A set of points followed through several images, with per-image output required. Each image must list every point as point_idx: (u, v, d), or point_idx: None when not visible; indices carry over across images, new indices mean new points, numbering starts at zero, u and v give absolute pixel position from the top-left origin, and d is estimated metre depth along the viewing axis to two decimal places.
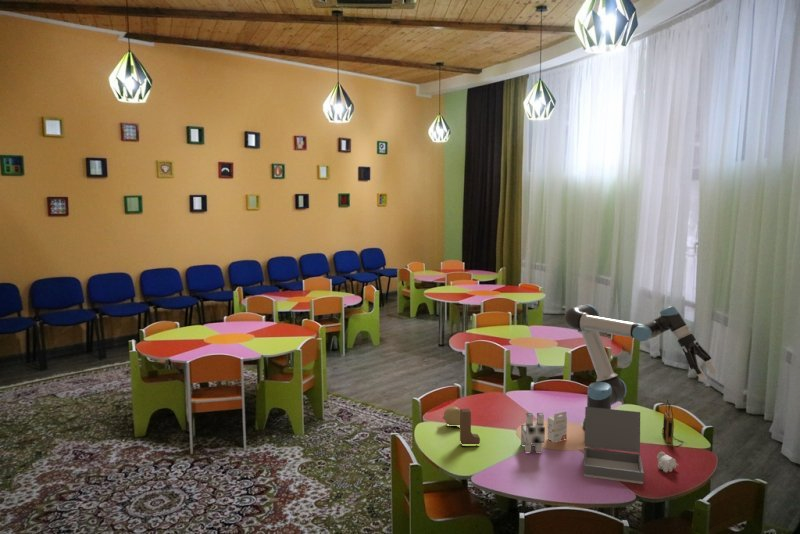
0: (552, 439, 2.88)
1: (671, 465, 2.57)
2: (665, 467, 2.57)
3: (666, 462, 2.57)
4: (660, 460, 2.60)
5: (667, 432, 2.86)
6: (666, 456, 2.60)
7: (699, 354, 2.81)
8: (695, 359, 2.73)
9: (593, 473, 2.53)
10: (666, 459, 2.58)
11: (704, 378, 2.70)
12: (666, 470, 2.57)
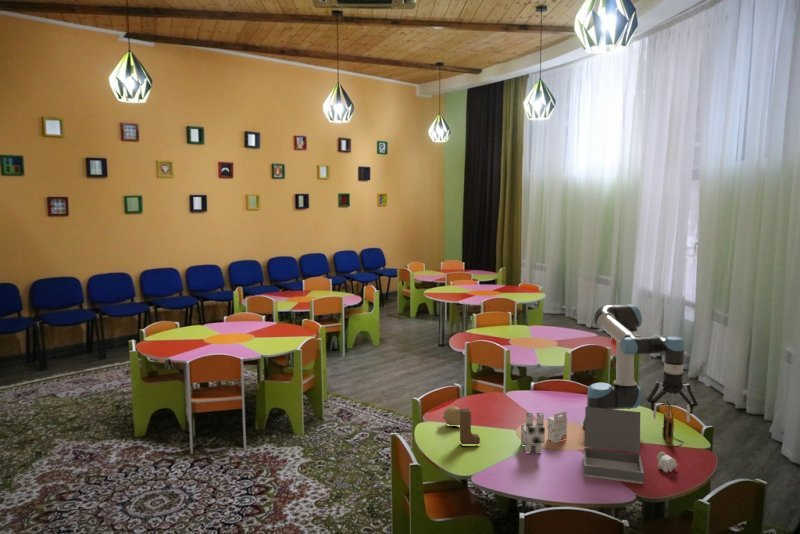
0: (552, 439, 2.88)
1: (671, 465, 2.57)
2: (665, 467, 2.57)
3: (666, 462, 2.57)
4: (660, 460, 2.60)
5: (667, 432, 2.86)
6: (666, 456, 2.60)
7: None
8: (658, 397, 2.57)
9: (593, 473, 2.53)
10: (666, 459, 2.58)
11: (653, 416, 2.59)
12: (666, 470, 2.57)
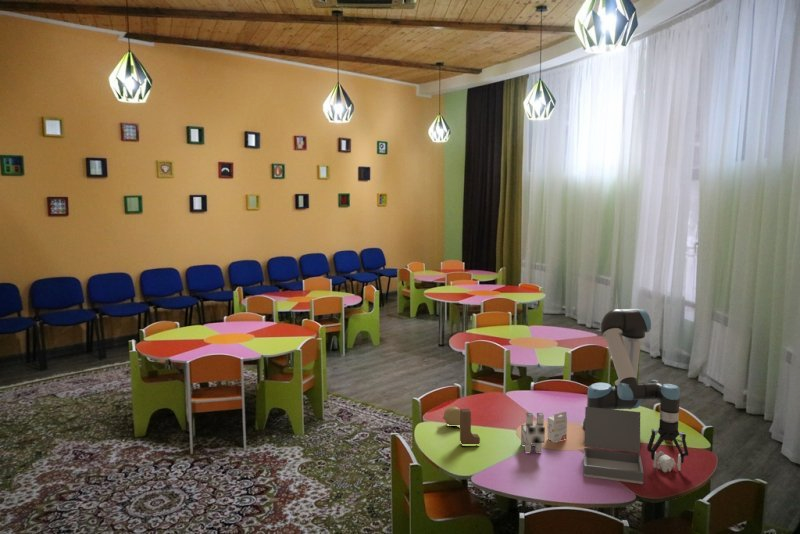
0: (552, 439, 2.88)
1: (670, 465, 2.57)
2: (664, 467, 2.57)
3: (665, 461, 2.57)
4: (659, 460, 2.60)
5: None
6: (665, 456, 2.60)
7: (675, 444, 2.58)
8: (656, 446, 2.59)
9: (593, 473, 2.53)
10: (665, 459, 2.58)
11: (653, 465, 2.61)
12: (665, 470, 2.57)
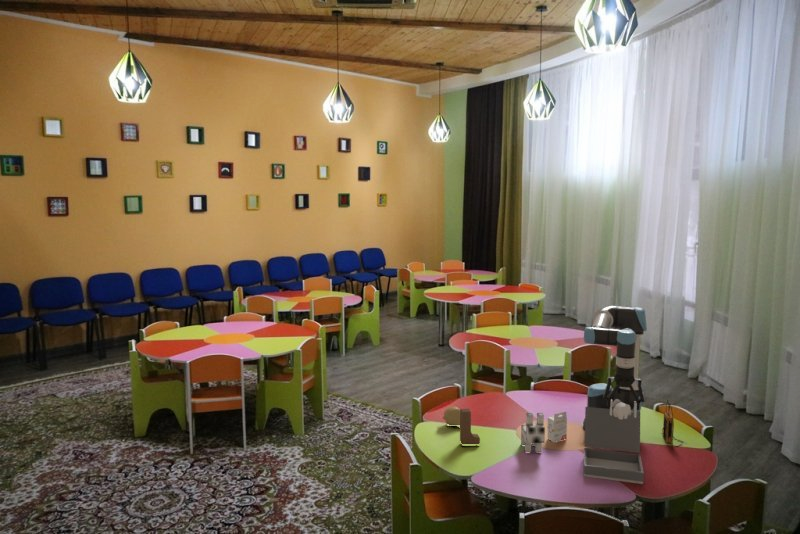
0: (552, 439, 2.88)
1: (626, 412, 2.53)
2: (620, 414, 2.53)
3: (621, 408, 2.53)
4: (615, 407, 2.55)
5: (667, 432, 2.86)
6: (621, 403, 2.56)
7: (631, 390, 2.54)
8: (612, 393, 2.55)
9: (593, 473, 2.53)
10: (621, 406, 2.54)
11: (610, 413, 2.57)
12: (621, 417, 2.53)
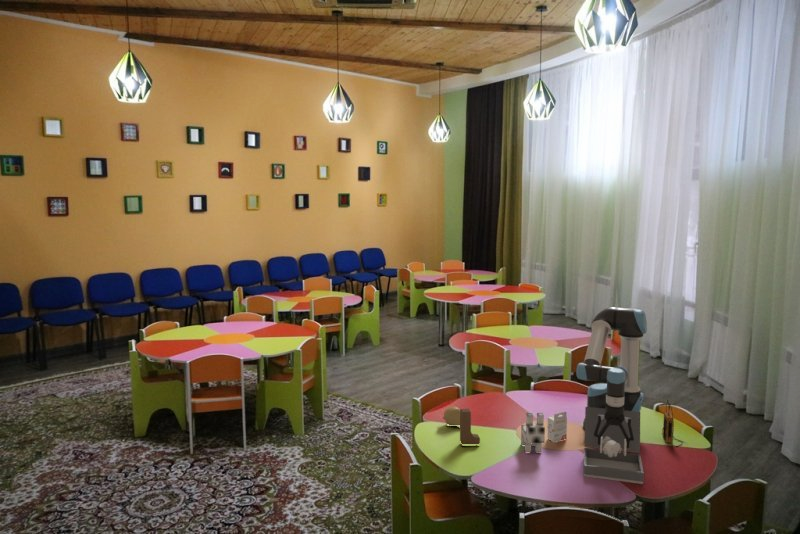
0: (552, 439, 2.88)
1: (616, 450, 2.55)
2: (610, 452, 2.55)
3: (611, 446, 2.55)
4: (605, 445, 2.58)
5: (667, 432, 2.86)
6: (611, 441, 2.58)
7: (621, 428, 2.56)
8: (602, 431, 2.58)
9: (593, 473, 2.53)
10: (611, 444, 2.56)
11: (600, 450, 2.60)
12: (611, 455, 2.55)
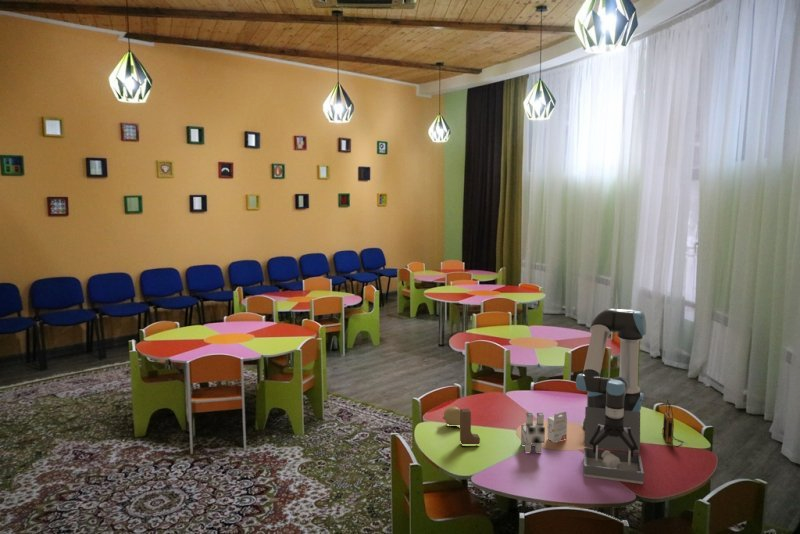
0: (552, 439, 2.88)
1: (615, 464, 2.56)
2: (609, 466, 2.56)
3: (610, 460, 2.56)
4: (604, 459, 2.59)
5: (667, 432, 2.86)
6: (610, 455, 2.60)
7: None
8: (599, 440, 2.58)
9: (593, 473, 2.53)
10: (610, 458, 2.57)
11: None
12: None
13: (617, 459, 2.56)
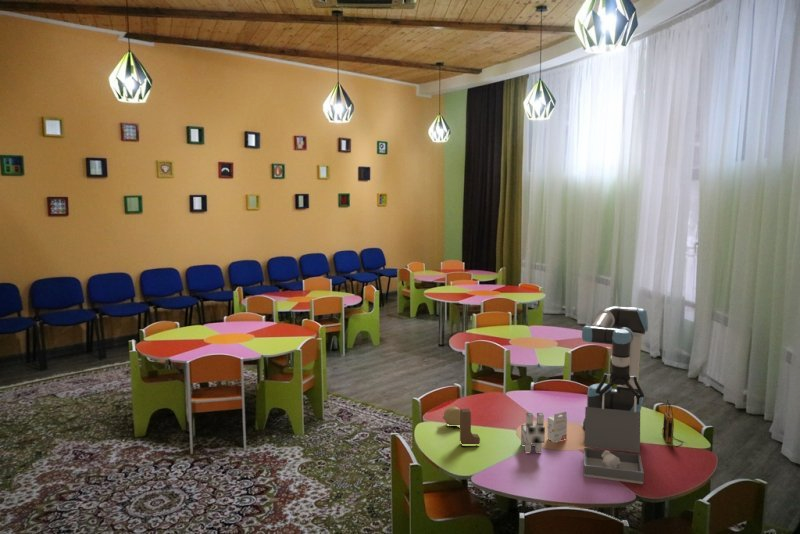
0: (552, 439, 2.88)
1: (615, 464, 2.56)
2: (609, 466, 2.56)
3: (610, 460, 2.56)
4: (604, 459, 2.59)
5: (667, 432, 2.86)
6: (610, 455, 2.60)
7: None
8: (606, 388, 2.63)
9: (593, 473, 2.53)
10: (610, 458, 2.57)
11: (602, 407, 2.65)
12: None
13: (617, 459, 2.56)
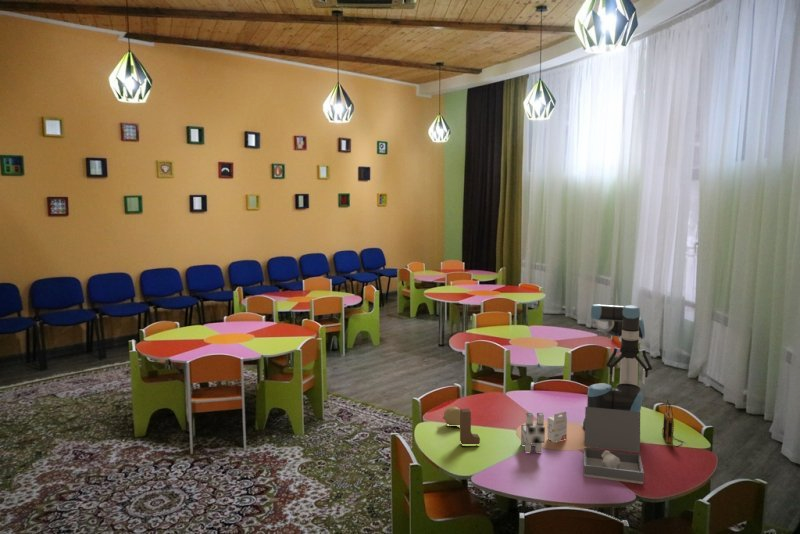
0: (552, 439, 2.88)
1: (615, 464, 2.56)
2: (609, 466, 2.56)
3: (610, 460, 2.56)
4: (604, 459, 2.59)
5: (667, 432, 2.86)
6: (610, 455, 2.60)
7: (638, 360, 2.75)
8: (616, 362, 2.77)
9: (593, 473, 2.53)
10: (610, 458, 2.57)
11: (612, 379, 2.79)
12: None
13: (617, 459, 2.56)
